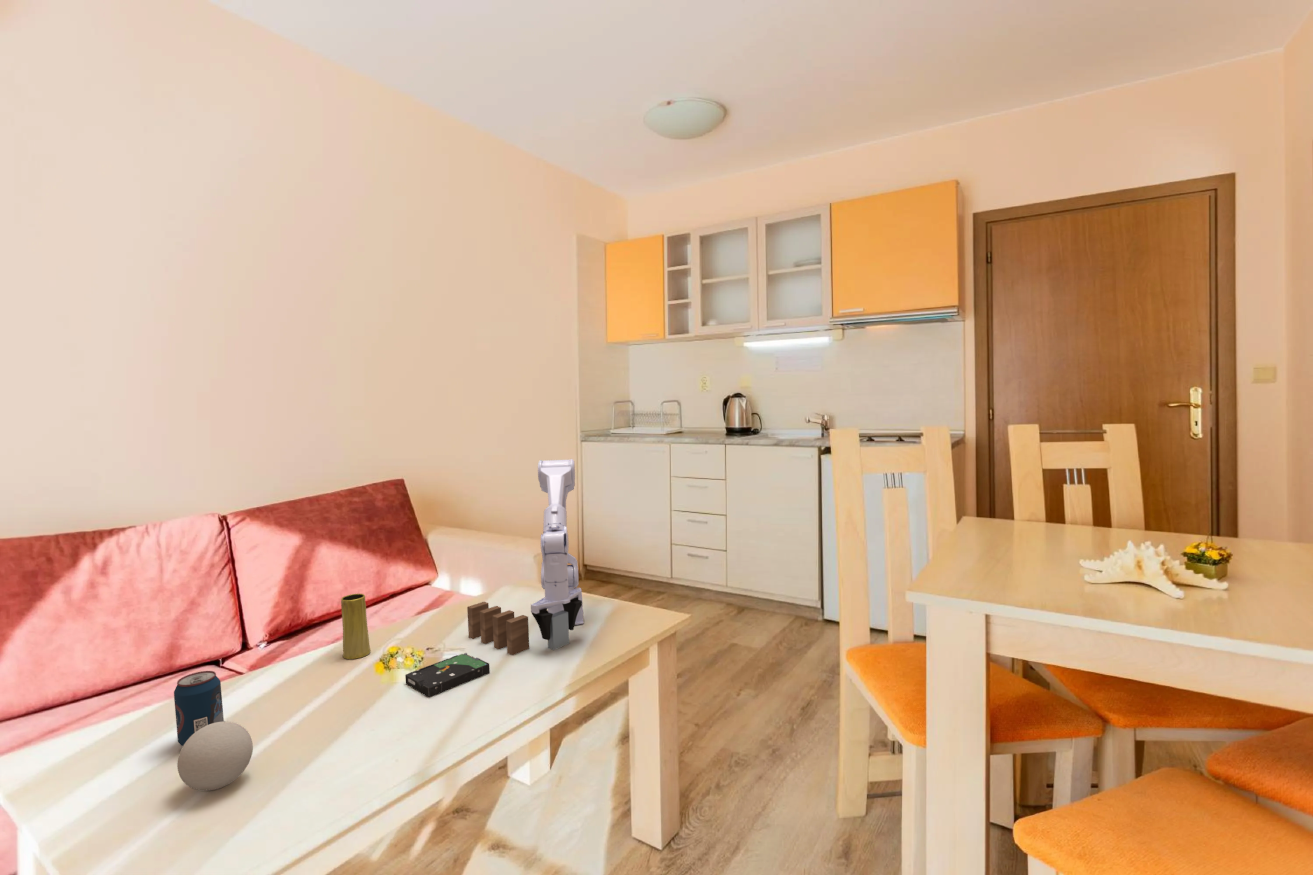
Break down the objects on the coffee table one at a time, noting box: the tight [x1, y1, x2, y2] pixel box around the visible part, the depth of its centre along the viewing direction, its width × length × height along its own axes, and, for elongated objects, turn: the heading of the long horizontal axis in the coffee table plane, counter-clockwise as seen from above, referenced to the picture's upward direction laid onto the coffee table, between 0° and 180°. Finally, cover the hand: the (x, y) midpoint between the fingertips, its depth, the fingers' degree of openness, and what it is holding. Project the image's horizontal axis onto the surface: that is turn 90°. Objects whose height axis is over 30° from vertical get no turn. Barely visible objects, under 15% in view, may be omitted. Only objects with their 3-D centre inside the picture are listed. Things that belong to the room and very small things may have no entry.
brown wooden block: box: [492, 609, 515, 651], centre depth 156 cm, size 2×5×8 cm, turn 139°
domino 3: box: [506, 614, 530, 656], centre depth 152 cm, size 2×5×8 cm, turn 139°
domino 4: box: [547, 610, 570, 651], centre depth 155 cm, size 2×5×8 cm, turn 139°
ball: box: [176, 721, 254, 792], centre depth 102 cm, size 10×10×10 cm
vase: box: [340, 593, 372, 660], centre depth 153 cm, size 6×6×14 cm
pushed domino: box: [466, 601, 490, 640], centre depth 163 cm, size 2×5×8 cm, turn 139°
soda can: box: [173, 670, 225, 747], centre depth 115 cm, size 7×7×12 cm
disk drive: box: [404, 652, 491, 699], centre depth 139 cm, size 10×3×15 cm
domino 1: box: [480, 605, 502, 645], centre depth 160 cm, size 2×5×8 cm, turn 139°
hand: (558, 633), depth 155 cm, fingers open, 7 cm apart
